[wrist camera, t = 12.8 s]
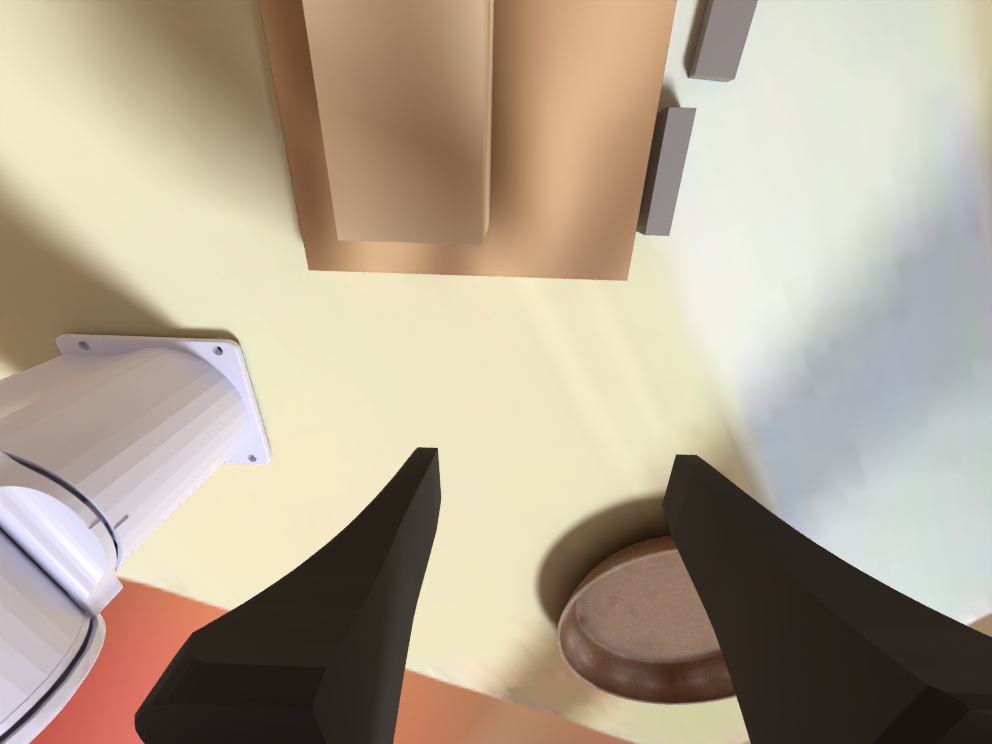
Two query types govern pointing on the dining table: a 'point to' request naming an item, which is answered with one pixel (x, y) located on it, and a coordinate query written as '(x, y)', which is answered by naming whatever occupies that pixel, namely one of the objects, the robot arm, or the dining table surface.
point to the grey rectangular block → (722, 39)
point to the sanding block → (406, 116)
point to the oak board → (513, 142)
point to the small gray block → (665, 170)
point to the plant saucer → (643, 630)
